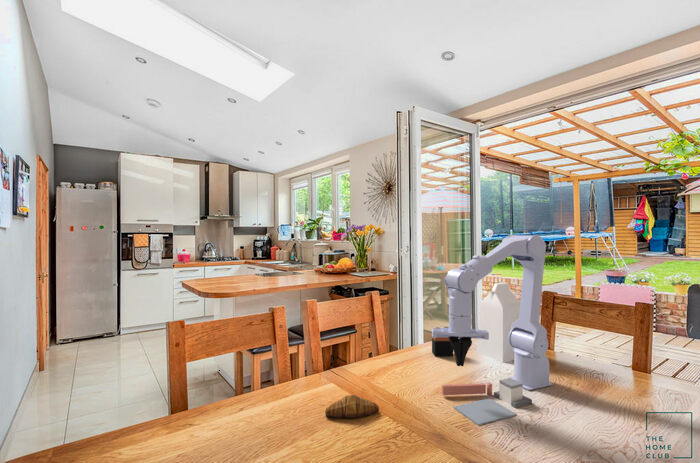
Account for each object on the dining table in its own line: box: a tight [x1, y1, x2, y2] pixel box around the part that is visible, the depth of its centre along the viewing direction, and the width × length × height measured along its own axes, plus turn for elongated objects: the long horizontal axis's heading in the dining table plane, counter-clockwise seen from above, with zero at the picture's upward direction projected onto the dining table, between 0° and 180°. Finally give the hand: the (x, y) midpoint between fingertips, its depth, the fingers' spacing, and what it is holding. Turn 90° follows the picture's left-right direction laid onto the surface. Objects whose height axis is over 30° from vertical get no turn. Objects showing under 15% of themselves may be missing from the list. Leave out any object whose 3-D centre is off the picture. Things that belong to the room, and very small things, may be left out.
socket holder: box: [493, 390, 533, 409], centre depth 98 cm, size 6×7×1 cm
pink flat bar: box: [441, 382, 493, 397], centre depth 100 cm, size 1×14×3 cm, turn 95°
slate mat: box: [453, 397, 518, 426], centre depth 91 cm, size 12×9×1 cm
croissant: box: [324, 394, 380, 419], centre depth 90 cm, size 14×7×5 cm, turn 100°
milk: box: [476, 282, 521, 363], centre depth 133 cm, size 12×12×26 cm
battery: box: [431, 326, 454, 357], centre depth 132 cm, size 4×7×10 cm, turn 93°
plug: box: [498, 377, 524, 406], centre depth 97 cm, size 4×4×5 cm
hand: (459, 364), depth 98 cm, fingers closed
